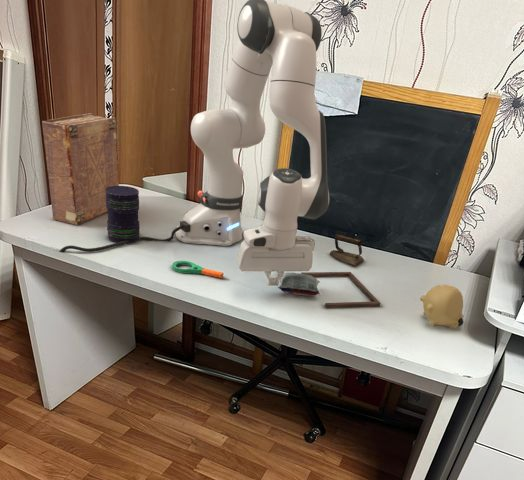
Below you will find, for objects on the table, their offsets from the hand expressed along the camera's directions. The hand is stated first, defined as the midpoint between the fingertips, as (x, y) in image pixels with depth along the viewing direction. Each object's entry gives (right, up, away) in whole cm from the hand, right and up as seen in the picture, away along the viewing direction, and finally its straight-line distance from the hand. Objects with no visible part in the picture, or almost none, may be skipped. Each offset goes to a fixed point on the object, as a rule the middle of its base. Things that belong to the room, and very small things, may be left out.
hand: (272, 284), depth 135 cm
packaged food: (+7, -1, +4) cm, 8 cm away
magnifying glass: (-21, +4, +7) cm, 23 cm away
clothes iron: (+24, +12, +28) cm, 39 cm away
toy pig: (+44, -11, -3) cm, 45 cm away
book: (-63, +30, +37) cm, 79 cm away
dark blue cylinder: (-46, +17, +22) cm, 54 cm away
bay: (+19, -1, +7) cm, 21 cm away
